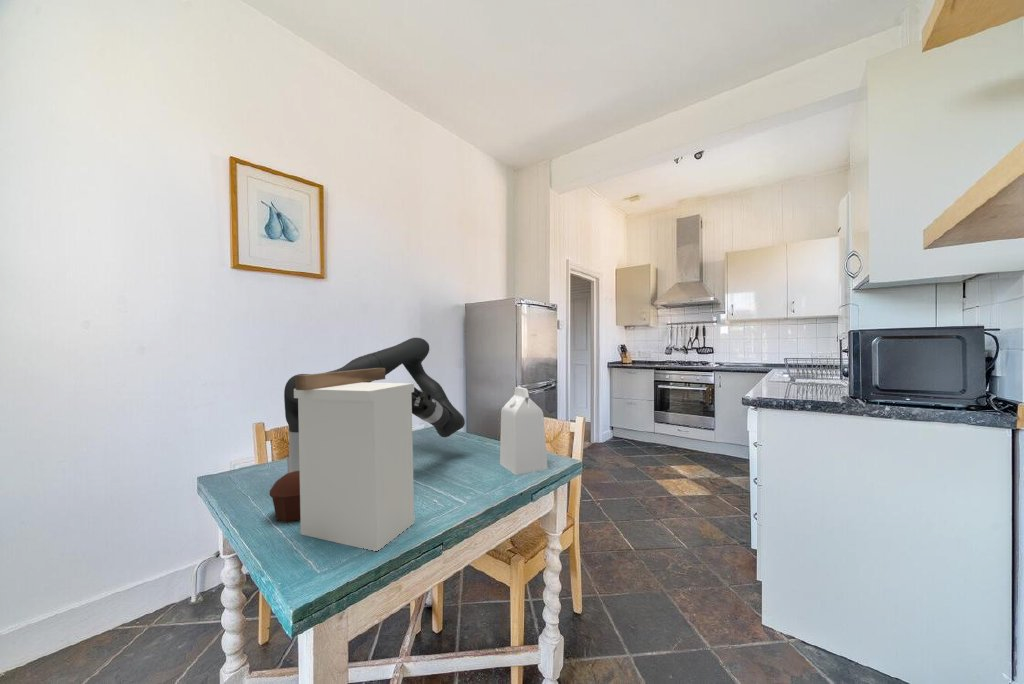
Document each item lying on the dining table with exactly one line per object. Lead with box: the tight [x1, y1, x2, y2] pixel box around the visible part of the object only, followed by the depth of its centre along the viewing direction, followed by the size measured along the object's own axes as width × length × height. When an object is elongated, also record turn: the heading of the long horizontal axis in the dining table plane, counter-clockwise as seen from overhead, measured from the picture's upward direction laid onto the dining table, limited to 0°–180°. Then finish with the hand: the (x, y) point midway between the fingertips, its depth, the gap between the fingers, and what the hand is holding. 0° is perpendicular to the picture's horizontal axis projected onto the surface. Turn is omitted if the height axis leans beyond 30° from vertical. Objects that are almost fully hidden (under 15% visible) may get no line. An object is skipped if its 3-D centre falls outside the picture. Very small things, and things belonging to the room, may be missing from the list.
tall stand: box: [294, 382, 415, 552], centre depth 81 cm, size 21×14×32 cm, turn 69°
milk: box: [499, 386, 549, 476], centre depth 120 cm, size 12×12×26 cm
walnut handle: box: [294, 368, 386, 390], centre depth 87 cm, size 3×24×3 cm, turn 159°
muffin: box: [269, 471, 301, 523], centre depth 89 cm, size 12×11×10 cm
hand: (397, 388), depth 104 cm, fingers open, 8 cm apart
